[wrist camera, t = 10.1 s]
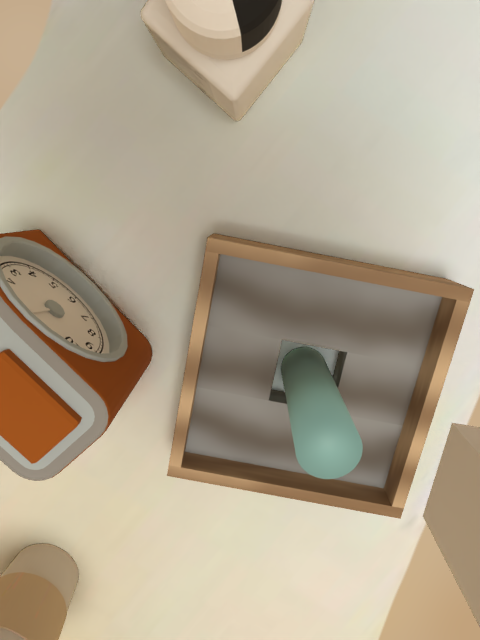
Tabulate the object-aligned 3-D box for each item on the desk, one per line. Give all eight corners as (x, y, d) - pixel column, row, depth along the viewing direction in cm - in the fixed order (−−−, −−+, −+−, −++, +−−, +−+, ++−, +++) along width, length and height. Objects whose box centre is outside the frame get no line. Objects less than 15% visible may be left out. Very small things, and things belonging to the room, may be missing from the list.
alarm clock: (164, 351, 41) (122, 420, 28) (99, 409, 43) (30, 500, 29) (41, 226, 39) (-68, 236, 25) (-23, 292, 40) (-158, 335, 27)
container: (226, -36, 34) (210, -181, 21) (304, 40, 35) (333, -54, 22) (161, 54, 35) (109, -31, 22) (237, 124, 36) (229, 80, 24)
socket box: (213, 233, 38) (207, 237, 33) (446, 278, 39) (474, 289, 34) (176, 445, 43) (167, 475, 38) (383, 483, 44) (400, 518, 39)
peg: (286, 343, 40) (303, 413, 27) (330, 351, 41) (370, 425, 27) (277, 384, 41) (288, 472, 28) (320, 393, 41) (353, 484, 28)
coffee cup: (17, 612, 48) (-84, 787, 34) (-10, 540, 46) (-129, 694, 32) (99, 602, 48) (32, 775, 33) (76, 528, 46) (-6, 679, 31)
